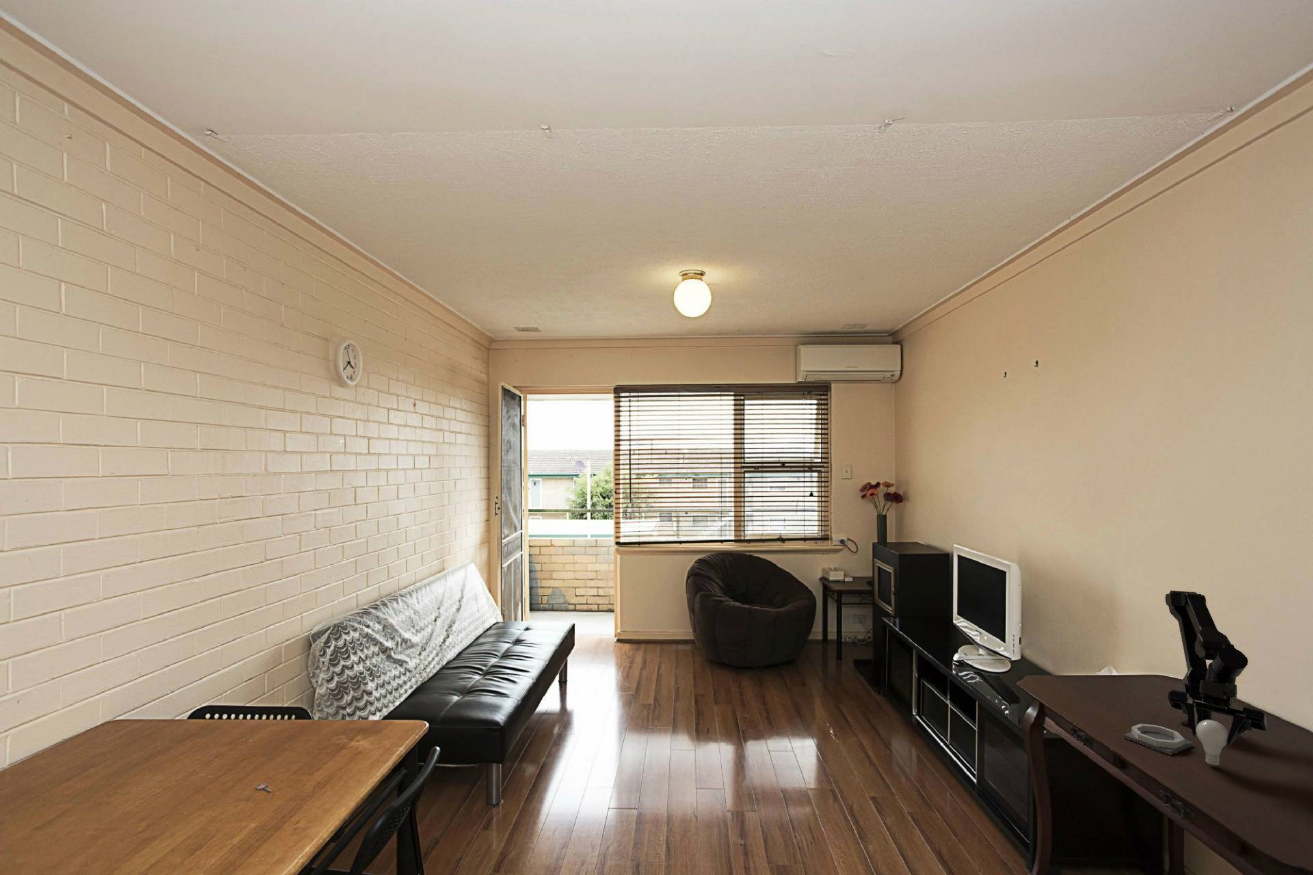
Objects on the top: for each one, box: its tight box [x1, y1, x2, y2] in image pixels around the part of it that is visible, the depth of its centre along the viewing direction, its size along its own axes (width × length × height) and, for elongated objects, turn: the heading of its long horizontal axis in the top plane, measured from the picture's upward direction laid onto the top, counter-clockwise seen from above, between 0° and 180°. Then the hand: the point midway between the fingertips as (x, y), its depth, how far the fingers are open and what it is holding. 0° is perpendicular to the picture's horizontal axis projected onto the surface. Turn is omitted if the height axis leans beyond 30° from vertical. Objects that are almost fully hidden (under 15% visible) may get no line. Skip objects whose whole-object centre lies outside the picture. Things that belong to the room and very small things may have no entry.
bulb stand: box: [1123, 723, 1193, 756], centre depth 177 cm, size 11×11×2 cm
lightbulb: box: [1196, 720, 1229, 766], centre depth 164 cm, size 6×6×11 cm
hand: (1210, 740), depth 163 cm, fingers closed on lightbulb, 6 cm apart
